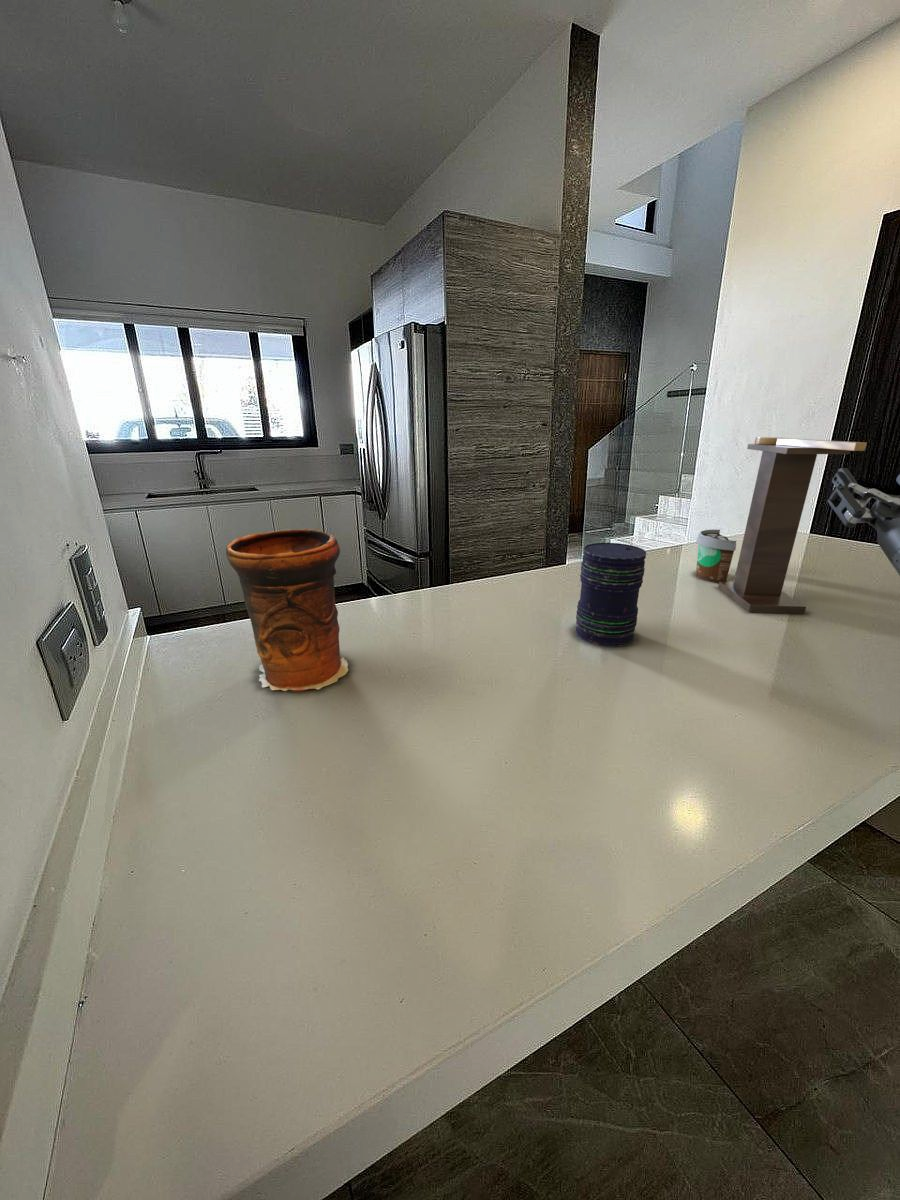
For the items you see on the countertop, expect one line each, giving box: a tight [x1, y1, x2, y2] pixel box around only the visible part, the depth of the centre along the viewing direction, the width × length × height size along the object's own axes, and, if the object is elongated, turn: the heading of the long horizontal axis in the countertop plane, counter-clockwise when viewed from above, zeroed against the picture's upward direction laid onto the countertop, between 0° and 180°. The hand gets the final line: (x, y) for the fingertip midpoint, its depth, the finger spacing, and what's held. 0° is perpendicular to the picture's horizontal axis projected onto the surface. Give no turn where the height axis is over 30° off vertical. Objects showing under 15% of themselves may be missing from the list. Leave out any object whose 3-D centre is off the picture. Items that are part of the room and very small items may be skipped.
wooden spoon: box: [754, 436, 868, 452], centre depth 84 cm, size 22×5×1 cm, turn 4°
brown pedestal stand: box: [717, 443, 851, 615], centre depth 92 cm, size 14×10×30 cm
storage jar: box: [574, 542, 647, 648], centre depth 80 cm, size 10×10×15 cm
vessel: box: [225, 528, 349, 692], centre depth 67 cm, size 14×14×20 cm
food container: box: [695, 529, 737, 584], centre depth 110 cm, size 12×6×10 cm, turn 168°
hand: (870, 473), depth 69 cm, fingers open, 8 cm apart
